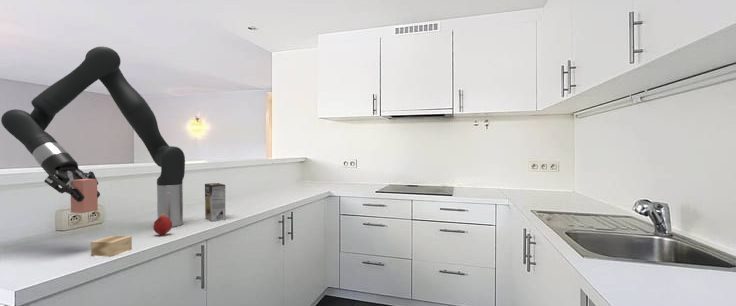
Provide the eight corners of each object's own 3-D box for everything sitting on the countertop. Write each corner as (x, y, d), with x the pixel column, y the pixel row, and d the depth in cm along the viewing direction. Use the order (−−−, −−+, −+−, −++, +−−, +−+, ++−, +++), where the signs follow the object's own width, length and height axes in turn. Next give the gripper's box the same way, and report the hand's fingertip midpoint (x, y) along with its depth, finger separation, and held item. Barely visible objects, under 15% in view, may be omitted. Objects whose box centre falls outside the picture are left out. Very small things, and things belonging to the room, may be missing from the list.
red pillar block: (71, 212, 101) (70, 180, 101) (85, 209, 105) (84, 178, 105) (83, 213, 100) (83, 180, 100) (97, 210, 105) (97, 178, 105)
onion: (163, 238, 118) (162, 216, 118) (149, 237, 119) (149, 215, 119) (175, 234, 124) (175, 212, 124) (162, 233, 125) (162, 212, 125)
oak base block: (91, 255, 98) (90, 241, 98) (112, 248, 105) (111, 235, 105) (111, 256, 97) (111, 242, 97) (131, 248, 104) (131, 236, 104)
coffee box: (204, 218, 152) (204, 183, 151) (219, 216, 156) (218, 182, 156) (211, 221, 145) (210, 185, 145) (226, 219, 149) (225, 184, 149)
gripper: (36, 152, 96) (74, 193, 95) (84, 151, 111) (117, 187, 109) (21, 170, 97) (58, 211, 96) (71, 167, 111) (103, 203, 110)
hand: (89, 198), depth 103 cm, fingers closed on red pillar block, 4 cm apart
